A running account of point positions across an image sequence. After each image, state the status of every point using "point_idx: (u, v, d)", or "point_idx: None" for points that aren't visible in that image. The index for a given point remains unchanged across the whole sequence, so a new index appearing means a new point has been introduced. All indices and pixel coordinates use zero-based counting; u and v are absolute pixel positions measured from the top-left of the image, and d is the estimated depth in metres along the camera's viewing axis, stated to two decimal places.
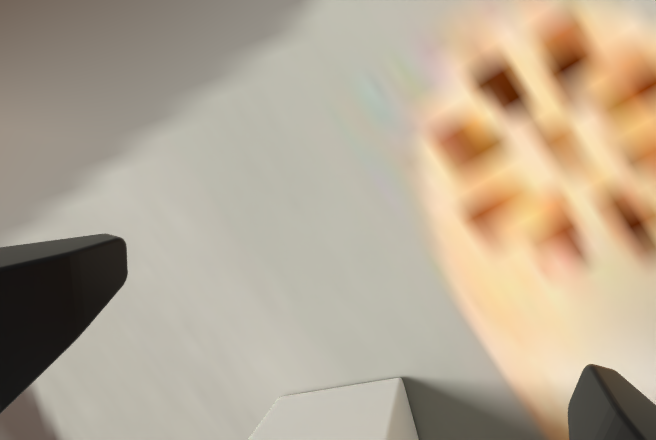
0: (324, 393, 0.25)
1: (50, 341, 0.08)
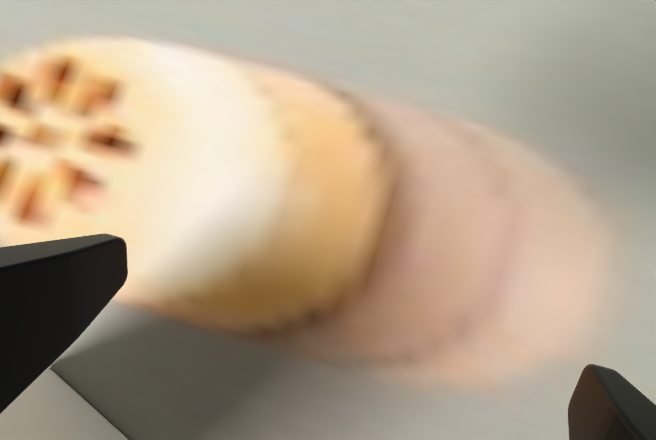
0: None
1: (50, 341, 0.08)
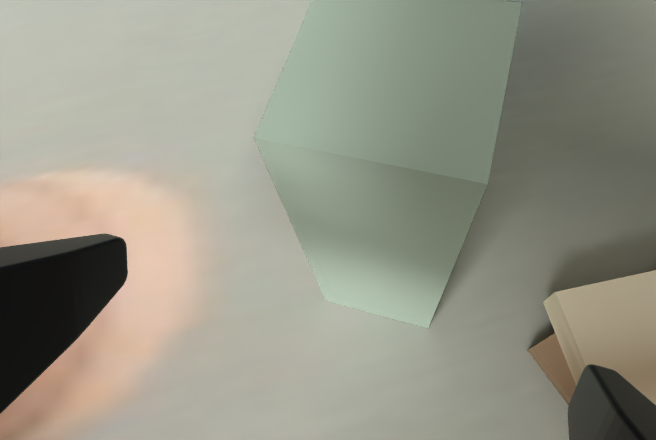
0: None
1: (50, 341, 0.08)
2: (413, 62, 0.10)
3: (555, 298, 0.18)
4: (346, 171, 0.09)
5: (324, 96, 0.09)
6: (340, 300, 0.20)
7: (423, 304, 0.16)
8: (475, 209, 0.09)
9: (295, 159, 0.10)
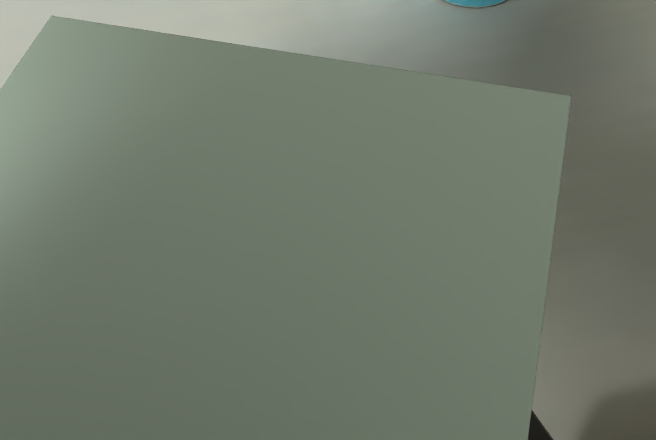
0: None
1: None
2: (228, 299, 0.03)
3: None
4: None
5: None
6: None
7: None
8: None
9: None
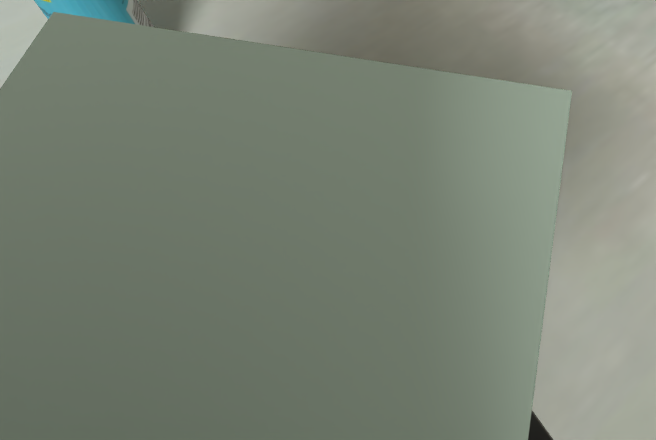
0: None
1: None
2: (231, 293, 0.03)
3: None
4: None
5: None
6: None
7: None
8: None
9: None
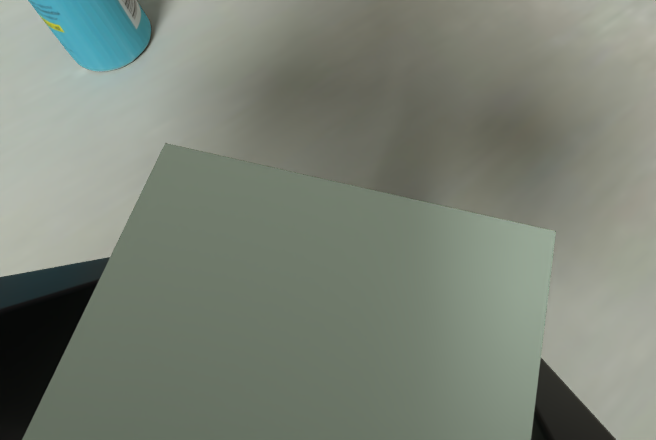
0: None
1: None
2: (326, 379, 0.04)
3: None
4: None
5: None
6: None
7: None
8: None
9: None
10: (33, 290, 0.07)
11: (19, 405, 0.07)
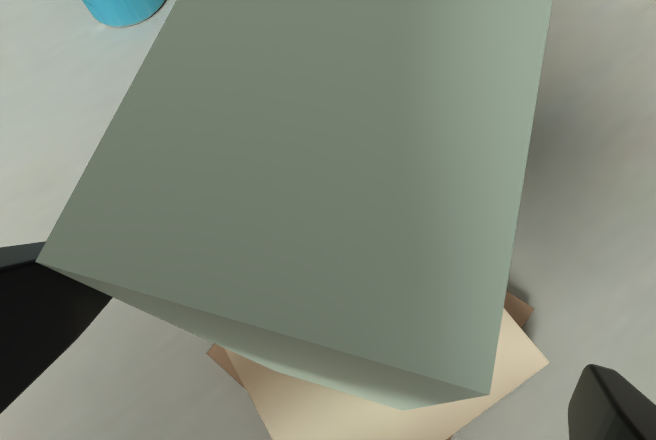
0: None
1: (50, 341, 0.08)
2: (351, 112, 0.05)
3: None
4: (220, 322, 0.05)
5: (179, 177, 0.05)
6: (291, 375, 0.15)
7: (393, 403, 0.12)
8: (463, 398, 0.05)
9: (127, 294, 0.05)
10: None
11: None
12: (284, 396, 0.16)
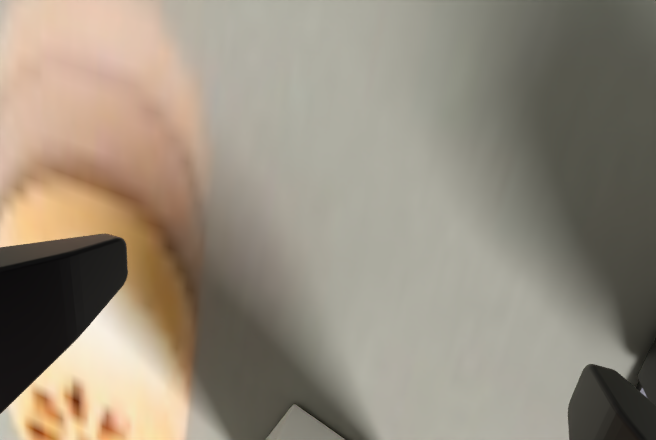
0: None
1: (50, 341, 0.08)
2: None
3: None
4: None
5: None
6: None
7: None
8: None
9: None
10: None
11: None
12: None
